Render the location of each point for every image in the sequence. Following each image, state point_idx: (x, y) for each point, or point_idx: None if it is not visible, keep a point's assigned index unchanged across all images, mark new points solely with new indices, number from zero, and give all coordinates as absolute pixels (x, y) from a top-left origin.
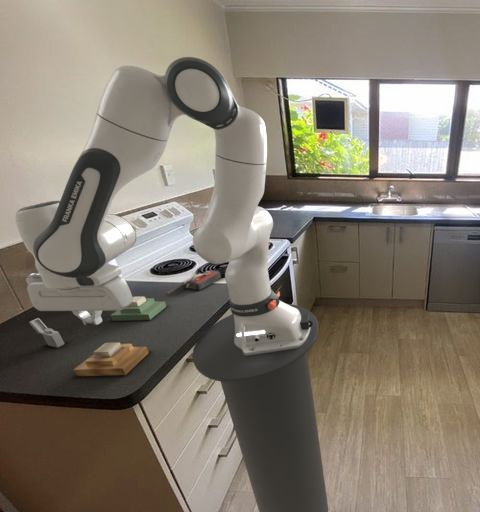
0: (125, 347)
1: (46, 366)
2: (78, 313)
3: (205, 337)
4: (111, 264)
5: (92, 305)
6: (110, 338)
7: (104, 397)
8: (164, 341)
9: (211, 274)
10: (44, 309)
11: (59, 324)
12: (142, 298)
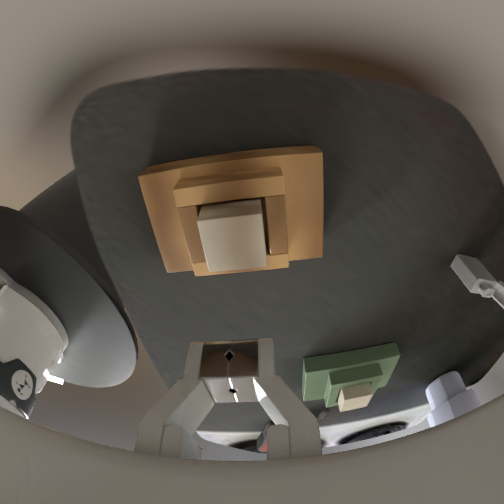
0: (194, 257)
1: (439, 188)
2: (273, 428)
3: (109, 315)
4: None
5: (77, 487)
6: (355, 296)
7: (124, 81)
8: (176, 299)
9: (266, 448)
10: (502, 413)
11: (483, 310)
12: (341, 407)
